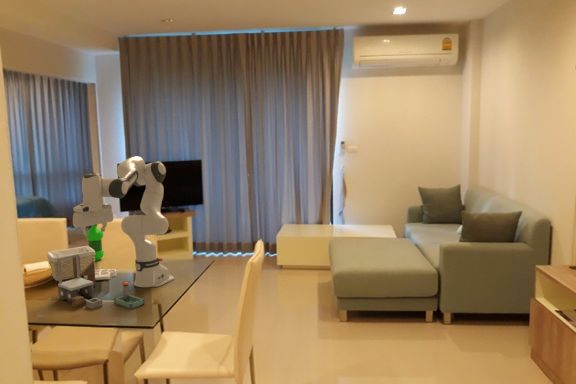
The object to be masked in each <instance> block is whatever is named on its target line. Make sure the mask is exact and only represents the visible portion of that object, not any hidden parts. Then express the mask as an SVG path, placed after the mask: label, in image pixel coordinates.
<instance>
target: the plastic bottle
mask: <svg viewBox="0 0 576 384" xmlns="http://www.w3.org/2000/svg"><path fill="white" fill-rule="evenodd" d="M98 225H99V224H97V225H91V226H90V227H91V228H90V229H89V230H87V232H88V235H86V236H85V237H86V239H87V241H88V247H90V248H92V249H93V250H94V251H95V262H96V261H100V260H101V259H102V258H103V257H104V256H105V253H104V251H103V243H102V242H103V241H102V239H103V238H104V232H101V229H100V228H98Z"/></svg>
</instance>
